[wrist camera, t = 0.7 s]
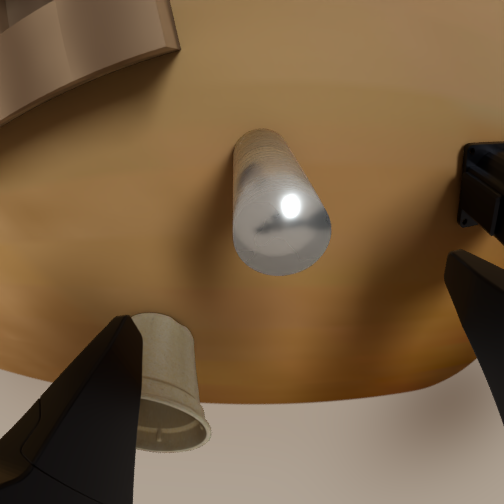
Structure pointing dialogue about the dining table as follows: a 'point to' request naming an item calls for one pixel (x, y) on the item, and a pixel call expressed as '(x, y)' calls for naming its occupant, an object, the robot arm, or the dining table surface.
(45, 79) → the bore block
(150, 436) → the flower pot
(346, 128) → the dining table surface
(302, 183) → the pin
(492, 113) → the dining table surface
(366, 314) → the dining table surface
